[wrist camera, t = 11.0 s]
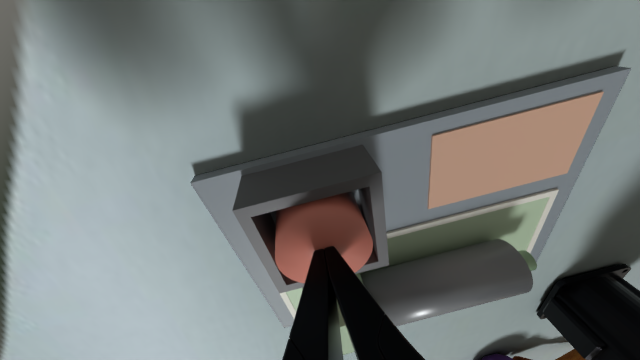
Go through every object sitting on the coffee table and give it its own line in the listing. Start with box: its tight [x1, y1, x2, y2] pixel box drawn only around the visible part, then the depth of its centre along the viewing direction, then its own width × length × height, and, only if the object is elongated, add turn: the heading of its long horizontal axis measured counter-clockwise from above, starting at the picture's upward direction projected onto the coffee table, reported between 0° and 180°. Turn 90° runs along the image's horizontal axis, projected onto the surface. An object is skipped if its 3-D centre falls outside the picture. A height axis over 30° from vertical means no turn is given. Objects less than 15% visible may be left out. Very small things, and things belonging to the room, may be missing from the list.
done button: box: [275, 191, 373, 283], centre depth 11 cm, size 4×4×3 cm
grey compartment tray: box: [191, 66, 631, 328], centre depth 14 cm, size 20×14×3 cm
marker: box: [302, 239, 537, 355], centre depth 14 cm, size 14×3×3 cm, turn 102°
